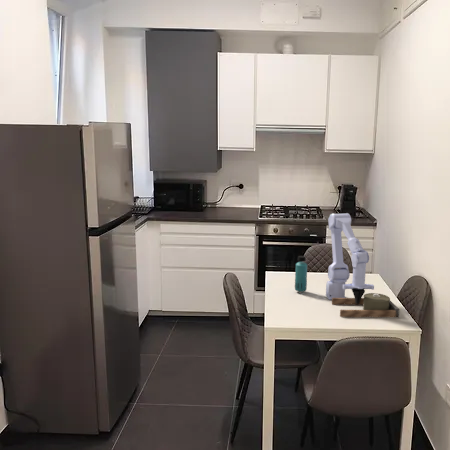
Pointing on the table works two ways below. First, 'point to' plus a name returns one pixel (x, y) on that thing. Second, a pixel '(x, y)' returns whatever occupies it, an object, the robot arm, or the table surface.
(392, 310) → the bay
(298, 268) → the beverage bottle
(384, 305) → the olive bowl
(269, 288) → the table surface
